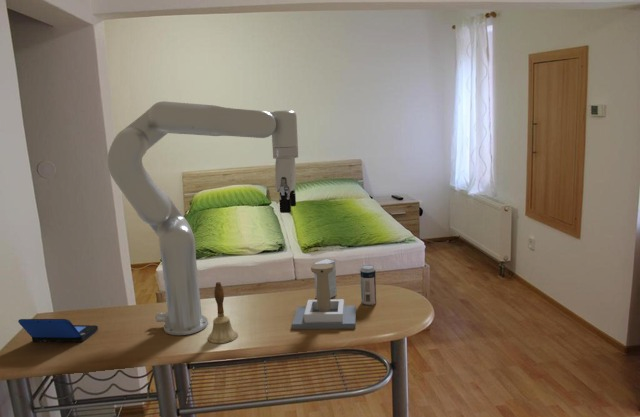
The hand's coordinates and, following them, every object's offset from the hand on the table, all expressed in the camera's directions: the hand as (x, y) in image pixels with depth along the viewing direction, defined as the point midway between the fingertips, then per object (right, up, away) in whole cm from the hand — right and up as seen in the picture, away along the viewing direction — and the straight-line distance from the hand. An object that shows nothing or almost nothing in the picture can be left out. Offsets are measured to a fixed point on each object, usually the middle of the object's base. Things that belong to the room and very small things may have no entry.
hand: (288, 209), depth 155 cm
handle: (+11, -31, -4) cm, 33 cm away
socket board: (+11, -33, -4) cm, 35 cm away
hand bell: (-18, -36, -12) cm, 42 cm away
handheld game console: (-65, -38, -7) cm, 75 cm away
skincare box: (+12, -29, +14) cm, 34 cm away
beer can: (+25, -30, +7) cm, 40 cm away
